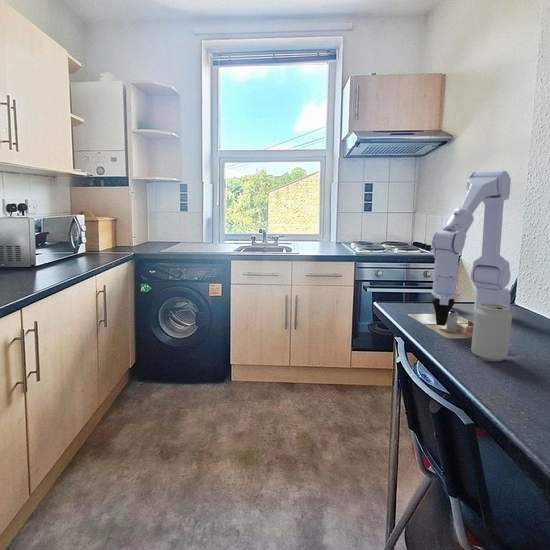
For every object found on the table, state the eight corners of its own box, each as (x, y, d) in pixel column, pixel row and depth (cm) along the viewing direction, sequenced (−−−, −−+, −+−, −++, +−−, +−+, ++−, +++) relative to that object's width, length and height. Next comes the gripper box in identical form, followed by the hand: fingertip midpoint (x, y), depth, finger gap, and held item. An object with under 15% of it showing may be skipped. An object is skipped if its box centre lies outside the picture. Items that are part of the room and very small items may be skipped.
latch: (445, 320, 123) (446, 310, 123) (457, 322, 122) (458, 311, 122) (445, 331, 113) (446, 320, 113) (457, 333, 112) (458, 321, 112)
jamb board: (453, 315, 133) (454, 300, 132) (501, 339, 111) (503, 321, 110) (406, 316, 131) (408, 301, 130) (446, 341, 109) (448, 323, 108)
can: (511, 364, 94) (518, 310, 92) (475, 361, 96) (480, 308, 94) (501, 352, 102) (506, 302, 99) (467, 349, 103) (472, 300, 101)
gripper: (463, 281, 107) (458, 334, 109) (459, 272, 120) (455, 319, 123) (433, 279, 109) (428, 331, 111) (432, 270, 123) (428, 317, 125)
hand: (440, 325), depth 117 cm, fingers closed, pressing on latch
